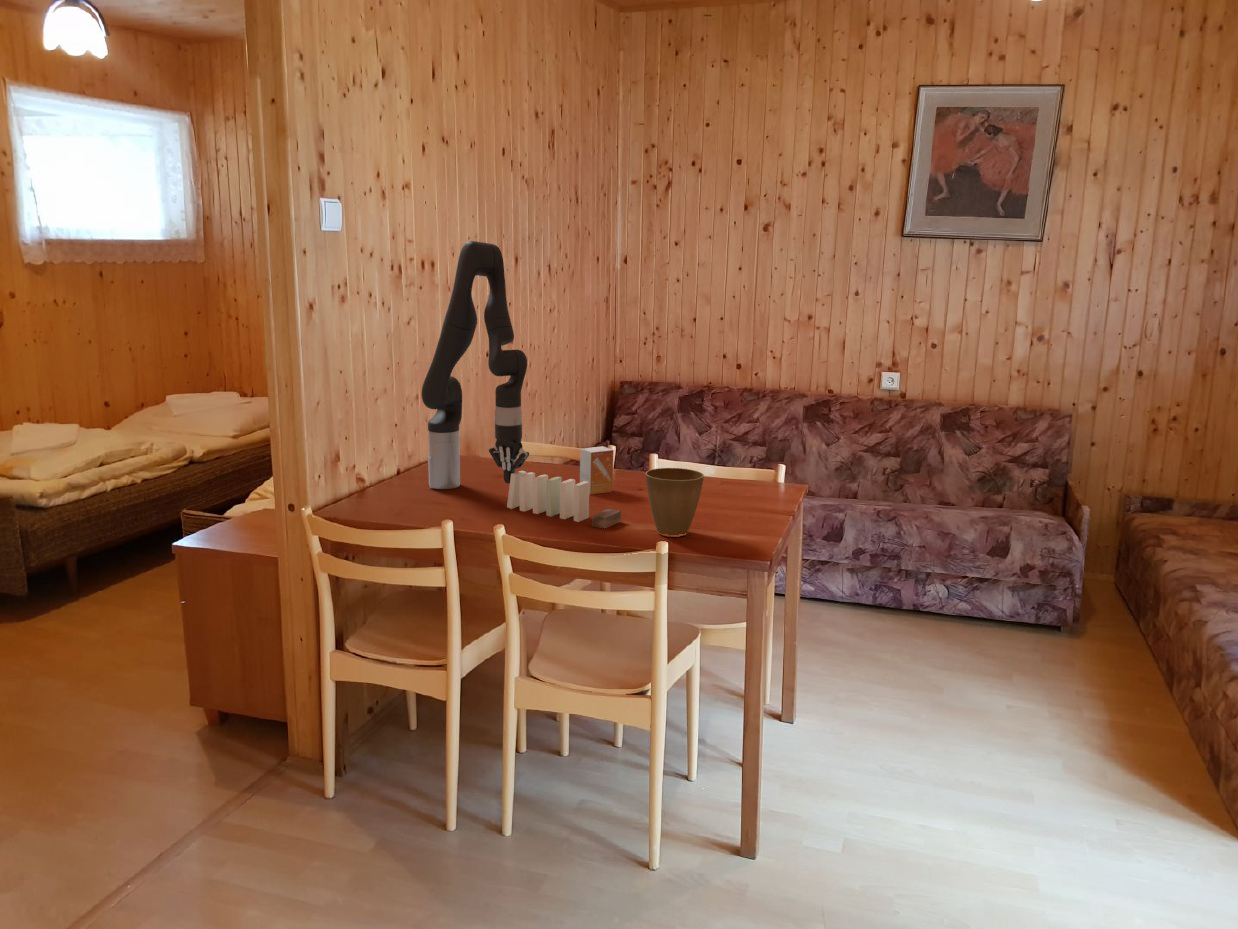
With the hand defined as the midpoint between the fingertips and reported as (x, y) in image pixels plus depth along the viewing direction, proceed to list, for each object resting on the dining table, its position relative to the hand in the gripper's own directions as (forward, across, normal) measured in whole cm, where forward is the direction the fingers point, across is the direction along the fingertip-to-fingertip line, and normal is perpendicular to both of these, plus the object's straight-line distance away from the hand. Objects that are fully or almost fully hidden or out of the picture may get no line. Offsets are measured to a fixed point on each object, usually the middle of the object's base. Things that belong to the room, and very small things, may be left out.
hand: (509, 482), depth 272 cm
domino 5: (+7, -20, 0) cm, 21 cm away
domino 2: (+7, -6, 0) cm, 9 cm away
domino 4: (+7, -15, 0) cm, 17 cm away
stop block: (+7, -32, 0) cm, 33 cm away
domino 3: (+7, -11, 0) cm, 13 cm away
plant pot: (+7, -51, -3) cm, 51 cm away
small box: (+7, -11, -28) cm, 31 cm away
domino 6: (+7, -24, 0) cm, 25 cm away
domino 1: (+7, -2, 0) cm, 7 cm away
